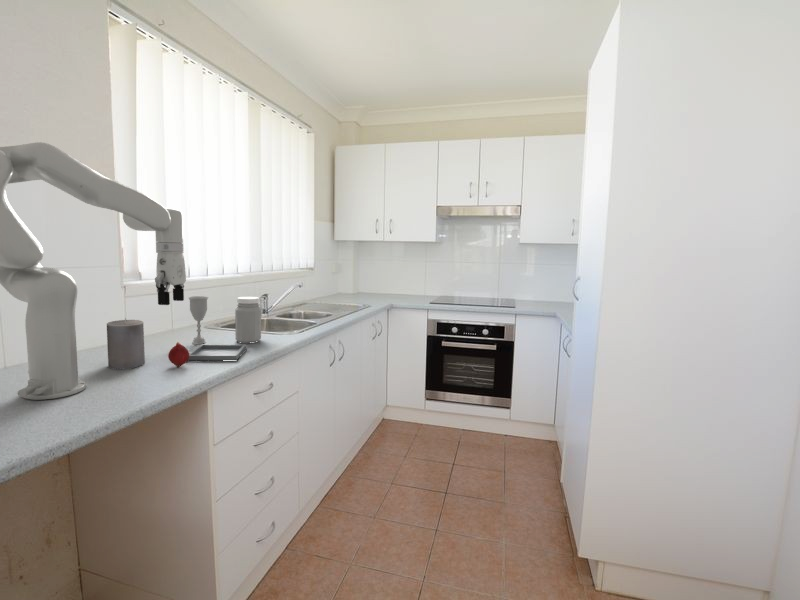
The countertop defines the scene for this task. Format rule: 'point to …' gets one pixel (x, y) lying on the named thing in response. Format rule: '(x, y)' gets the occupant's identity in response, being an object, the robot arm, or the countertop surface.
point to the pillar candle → (125, 344)
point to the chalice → (198, 314)
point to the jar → (248, 320)
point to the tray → (216, 352)
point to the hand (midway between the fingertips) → (171, 302)
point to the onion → (178, 355)
